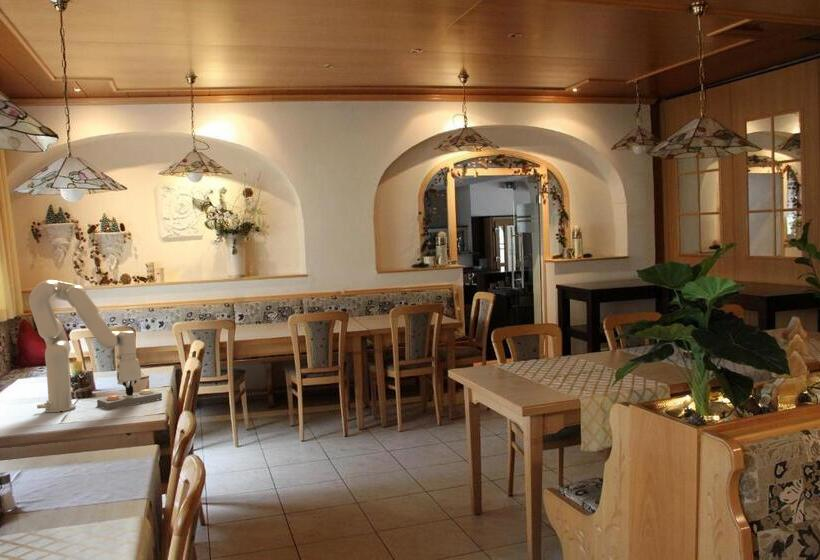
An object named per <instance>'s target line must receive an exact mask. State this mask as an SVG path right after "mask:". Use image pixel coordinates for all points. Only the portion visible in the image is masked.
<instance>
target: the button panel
mask: <svg viewBox="0 0 820 560" xmlns="http://www.w3.org/2000/svg"><path fill="white" fill-rule="evenodd" d="M151 393H152V394H146V395H141V393H140V392H136V393H133V394H135V395H136V397H130V398H125V397H124V395H127V394H126V393H125V394H120V395H119V400H114V401H107V397H105V398H104V397H103V398H98V399H97V400H96V403H97V405H96V406H97V407H100V408H101V409H102V408H103V409H104V410H108V411H109V410H112V409H113V408H114V409H118V407H119V408H122V407H123V406H124V407H128V406H135V405H139V404H138V403H140V404H144V403H143V402H145V403H148V401H150V402H153V401H152V400H155V401H158V400H157V399H160V400H162V399H163V396H162V394H163V393H162V392H159V391H155V390H152V389H151ZM161 398H162V399H161ZM134 404H135V405H134Z"/></svg>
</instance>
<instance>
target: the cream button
mask: <svg viewBox="0 0 820 560" xmlns="http://www.w3.org/2000/svg"><path fill="white" fill-rule="evenodd" d="M151 390H152V389H151V388H149V389H144V390H141V391H140V393H141V395H146V394H152V393H151Z"/></svg>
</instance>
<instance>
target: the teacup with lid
mask: <svg viewBox="0 0 820 560" xmlns="http://www.w3.org/2000/svg"><path fill="white" fill-rule="evenodd" d="M144 389H150V375H149V374H148V373H145V372H142V370H141V378H140V381H139V382H136V383H135V385H134V387H133V393H136V392H140V391H141V390H144Z"/></svg>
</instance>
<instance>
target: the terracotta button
mask: <svg viewBox="0 0 820 560" xmlns="http://www.w3.org/2000/svg"><path fill="white" fill-rule="evenodd" d="M119 396H120V395H119V394H112V395H108V396H107V397H106V398H107V401H114V400H119Z"/></svg>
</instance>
